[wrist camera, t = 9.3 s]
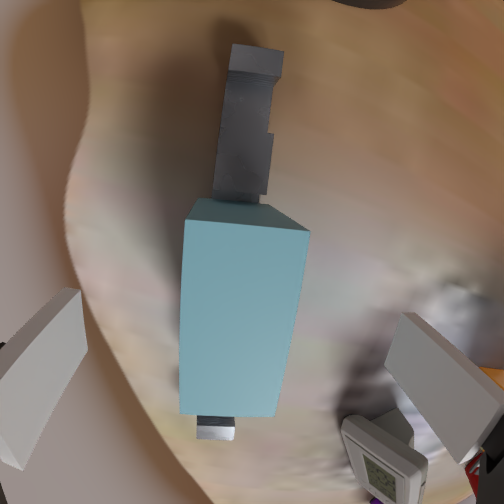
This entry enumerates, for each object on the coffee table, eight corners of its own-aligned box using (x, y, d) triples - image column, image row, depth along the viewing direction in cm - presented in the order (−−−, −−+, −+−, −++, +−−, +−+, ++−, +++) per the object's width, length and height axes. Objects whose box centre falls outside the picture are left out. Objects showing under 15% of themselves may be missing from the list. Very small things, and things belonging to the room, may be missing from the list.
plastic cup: (461, 462, 37) (489, 499, 26) (498, 435, 38) (527, 467, 26) (449, 485, 40) (472, 519, 29) (484, 461, 41) (508, 491, 29)
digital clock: (337, 410, 27) (377, 490, 17) (413, 382, 28) (466, 445, 17) (334, 483, 31) (358, 543, 21) (394, 461, 32) (425, 514, 22)
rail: (229, 62, 18) (232, 43, 15) (273, 68, 18) (283, 51, 15) (197, 411, 25) (196, 438, 21) (230, 412, 25) (233, 440, 22)
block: (198, 197, 19) (185, 219, 11) (268, 204, 20) (310, 231, 11) (189, 325, 21) (179, 413, 13) (252, 329, 22) (274, 416, 13)
